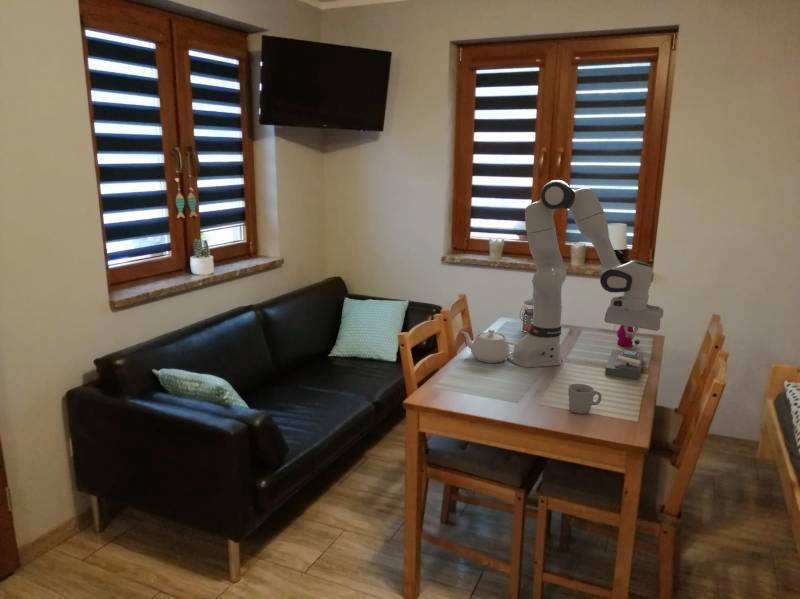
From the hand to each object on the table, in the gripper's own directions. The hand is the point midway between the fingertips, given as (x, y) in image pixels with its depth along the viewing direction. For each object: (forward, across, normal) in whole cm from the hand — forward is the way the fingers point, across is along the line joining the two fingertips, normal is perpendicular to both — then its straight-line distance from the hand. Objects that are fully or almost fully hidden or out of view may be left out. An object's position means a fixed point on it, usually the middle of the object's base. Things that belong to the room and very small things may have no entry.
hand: (629, 337), depth 231 cm
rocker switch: (+8, -1, +8) cm, 11 cm away
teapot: (+15, +51, +14) cm, 55 cm away
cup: (+13, +8, +50) cm, 52 cm away
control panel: (+13, 0, 0) cm, 13 cm away
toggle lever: (+8, -1, -8) cm, 12 cm away
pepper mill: (+13, +3, -32) cm, 35 cm away
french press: (+15, +46, -33) cm, 58 cm away
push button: (+9, -1, 0) cm, 9 cm away
